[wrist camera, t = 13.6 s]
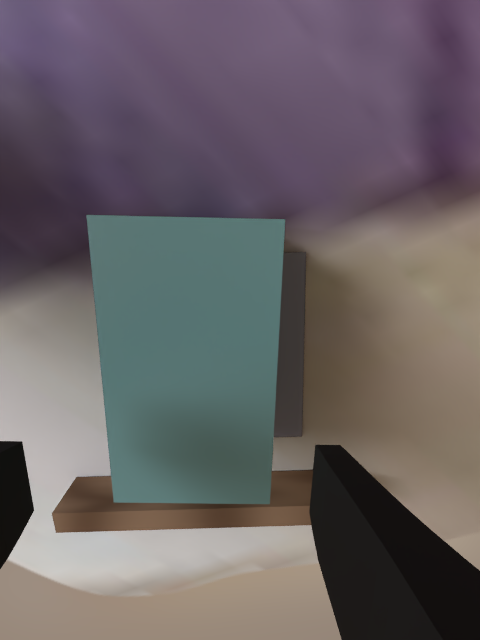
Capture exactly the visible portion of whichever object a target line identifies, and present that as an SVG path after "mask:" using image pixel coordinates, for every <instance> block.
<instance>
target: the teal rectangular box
mask: <svg viewBox="0 0 480 640" xmlns="http://www.w3.org/2000/svg"><path fill="white" fill-rule="evenodd" d="M86 216H87V226H88V237H89V247H90V258H91V268H92V279H93V290H94V300H95V311H96V321H97V332H98V342H99V353H100V363H101V374H102V384H103V395H104V405H105V416H106V427H107V437H108V448H109V458H110V469H111V479H112V490H113V500H114V502H116V503H203V504H270V492H271V474H272V455H273V437H274V418H275V400H276V381H277V363H278V344H279V326H280V307H281V289H282V270H283V252H284V233H285V219H246V218H202V217H157V216H113V215H86Z"/></svg>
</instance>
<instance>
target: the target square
mask: <svg viewBox="0 0 480 640" xmlns="http://www.w3.org/2000/svg"><path fill="white" fill-rule="evenodd" d="M305 279H306V252H289V253H283V270H282V289H281V307H280V326H279V344H278V363H277V381H276V400H275V418H274V437H297V436H302V415H303V370H304V325H305Z"/></svg>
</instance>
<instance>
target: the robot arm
mask: <svg viewBox="0 0 480 640" xmlns="http://www.w3.org/2000/svg"><path fill="white" fill-rule="evenodd" d="M33 511H34V507H33V502H32V496H31V490H30V484H29V479H28V473H27V467H26V461H25V456H24V450H23V444H22V442H14V441H0V569H1V567H2V566H3V564H4V563H5V561H6V560H7V558H8V557H9V555H10V553H11V552H12V550H13V548H14V546H15V545H16V543H17V541H18V539H19V538H20V536H21V534H22V532H23V530H24V528H25V526H26V525H27V523H28V521H29V519H30V517H31V515H32V513H33ZM309 514H310V520H311V525H312V531H313V536H314V541H315V546H316V551H317V556H318V561H319V564H320V567H321V571H322V574H323V578H324V581H325V585H326V588H327V591H328V595H329V598H330V601H331V605H332V608H333V612H334V615H335V618H336V622H337V625H338V628H339V632H340V635H341V639H342V640H480V571H479V570H478V569H477V568H476V567H474V566H473V565H472V564H471V563H469V562H468V561H467V560H466V559H464V558H463V557H462V556H461V555H460V554H459V553H458V552H456V551H455V550H454V549H453V548H452V547H450V546H449V545H448V544H447V543H446V542H444V541H443V540H442V539H441V538H440V537H439V536H437V535H436V534H435V533H434V532H433V531H431V530H430V529H429V528H428V527H427V526H426V525H425V524H424V523H422V522H421V521H420V520H419V519H418V518H417V517H416V516H415V515H413V514H412V513H411V512H410V511H409V510H408V509H407V508H406V507H405V506H403V505H402V504H401V503H400V502H399V501H398V500H397V499H396V498H395V497H394V496H393V495H392V494H391V493H389V492H388V491H387V490H386V489H385V488H384V487H383V486H382V485H381V484H380V483H379V482H378V481H377V480H376V479H375V478H374V477H373V476H372V475H371V474H370V473H369V472H367V471H366V470H365V469H364V468H363V467H362V466H361V465H360V464H359V463H358V462H357V461H356V460H355V459H354V458H353V457H352V456H351V455H350V454H349V453H348V452H347V451H346V450H345V449H344V448H343V447H341V446H340V445H315V456H314V466H313V477H312V488H311V499H310V509H309Z"/></svg>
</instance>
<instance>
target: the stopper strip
mask: <svg viewBox="0 0 480 640" xmlns="http://www.w3.org/2000/svg"><path fill="white" fill-rule="evenodd" d="M312 477H313V470H302V471H272V474H271V492H270V504H203V503H116V502H114V500H113V490H112V479H111V476H102V477H76V479H75V480H74V482H73V483H72V485H71V486H70V488H69V489H68V490H67V492H66V493H65V495H64V496H63V498H62V499H61V501H60V502H59V504H58V505H57V507H56V508H55V510H54V511H53V513H52V516H53V521H54V525H55V530H56V533H59V532H93V531H126V530H159V529H193V528H226V527H259V526H293V525H311V520H310V514H309V509H310V499H311V488H312Z"/></svg>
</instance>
